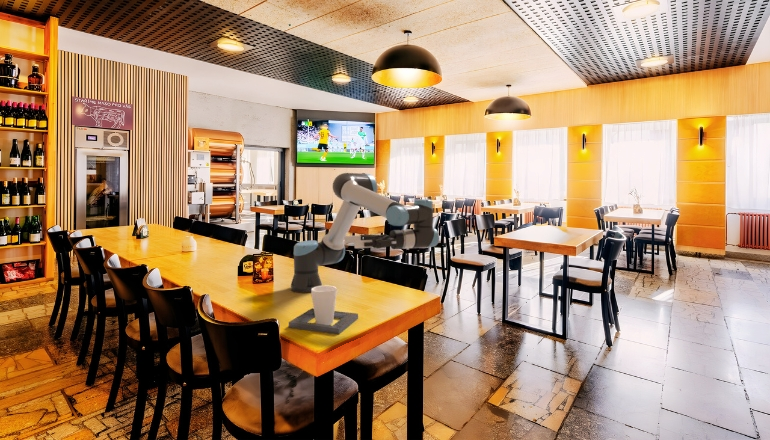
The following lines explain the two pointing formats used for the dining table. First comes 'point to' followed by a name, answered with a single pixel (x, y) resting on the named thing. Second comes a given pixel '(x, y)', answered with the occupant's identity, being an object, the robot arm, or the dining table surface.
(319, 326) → the square frame
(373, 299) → the dining table surface
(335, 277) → the dining table surface
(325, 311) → the foam cup
